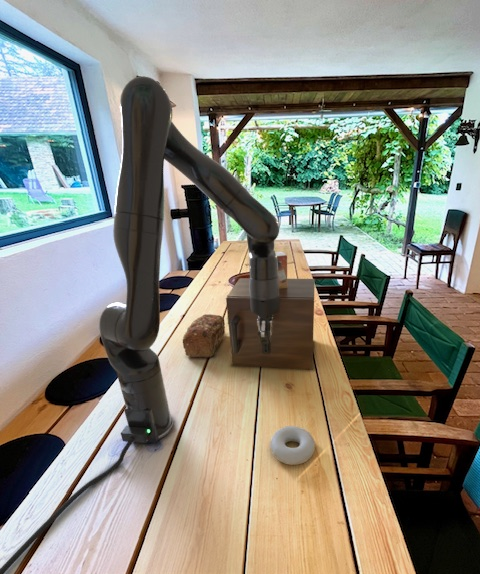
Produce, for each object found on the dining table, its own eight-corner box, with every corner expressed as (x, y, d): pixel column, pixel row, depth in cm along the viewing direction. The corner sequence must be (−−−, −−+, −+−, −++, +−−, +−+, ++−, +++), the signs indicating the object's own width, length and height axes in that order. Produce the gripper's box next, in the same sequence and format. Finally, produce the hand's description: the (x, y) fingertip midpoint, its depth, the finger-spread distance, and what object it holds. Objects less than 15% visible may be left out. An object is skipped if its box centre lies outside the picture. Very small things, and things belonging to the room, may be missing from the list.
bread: (213, 359, 110) (209, 332, 106) (183, 357, 111) (179, 331, 107) (227, 334, 127) (224, 310, 122) (201, 333, 128) (197, 310, 124)
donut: (323, 447, 73) (287, 427, 79) (323, 435, 72) (287, 416, 78) (298, 477, 66) (261, 453, 72) (298, 465, 65) (260, 441, 71)
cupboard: (312, 368, 103) (314, 297, 93) (233, 364, 106) (226, 296, 96) (313, 341, 119) (314, 278, 109) (244, 338, 122) (239, 278, 113)
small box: (263, 291, 99) (261, 257, 95) (258, 285, 104) (257, 253, 100) (287, 288, 101) (287, 254, 97) (282, 282, 106) (282, 251, 102)
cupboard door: (312, 380, 96) (314, 307, 87) (227, 375, 100) (220, 305, 90) (312, 368, 102) (314, 298, 92) (232, 364, 106) (226, 296, 96)
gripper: (253, 285, 88) (256, 341, 95) (245, 302, 76) (249, 365, 83) (281, 285, 87) (281, 342, 94) (276, 302, 75) (278, 366, 82)
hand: (266, 352), depth 89 cm, fingers closed
